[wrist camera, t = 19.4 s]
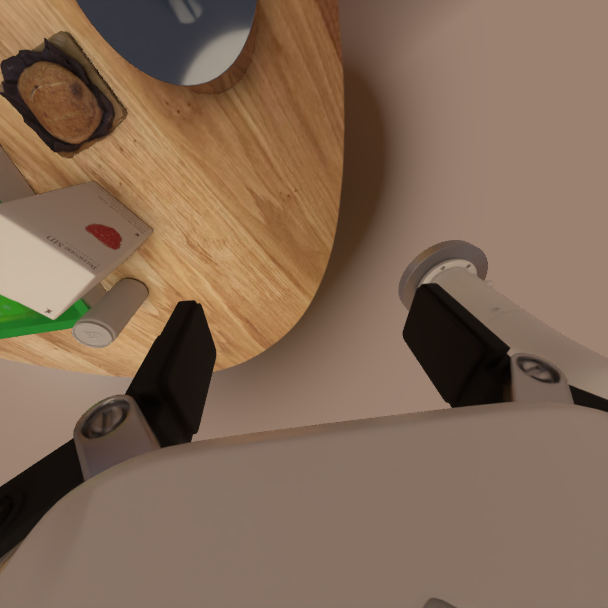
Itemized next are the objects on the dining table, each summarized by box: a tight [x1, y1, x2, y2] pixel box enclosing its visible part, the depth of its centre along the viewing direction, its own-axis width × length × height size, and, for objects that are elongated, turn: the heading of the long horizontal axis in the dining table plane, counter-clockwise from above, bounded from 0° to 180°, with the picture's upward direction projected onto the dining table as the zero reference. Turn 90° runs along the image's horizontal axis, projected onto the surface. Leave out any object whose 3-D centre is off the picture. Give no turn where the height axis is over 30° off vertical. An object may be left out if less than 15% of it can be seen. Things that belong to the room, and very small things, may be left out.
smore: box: [0, 31, 127, 158], centre depth 25 cm, size 11×8×4 cm
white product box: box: [0, 181, 153, 320], centre depth 29 cm, size 9×9×15 cm
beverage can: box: [72, 279, 148, 348], centre depth 36 cm, size 5×5×12 cm
